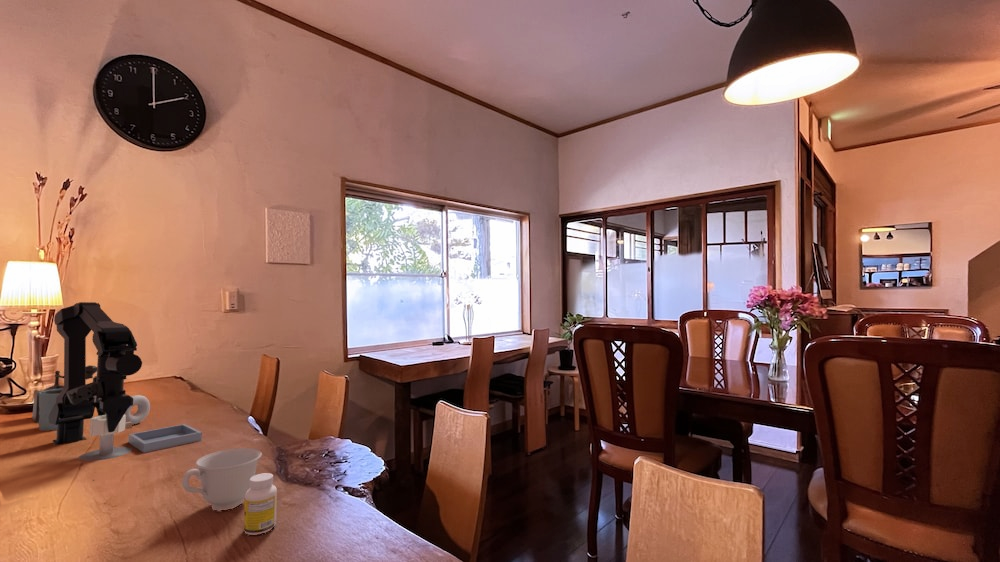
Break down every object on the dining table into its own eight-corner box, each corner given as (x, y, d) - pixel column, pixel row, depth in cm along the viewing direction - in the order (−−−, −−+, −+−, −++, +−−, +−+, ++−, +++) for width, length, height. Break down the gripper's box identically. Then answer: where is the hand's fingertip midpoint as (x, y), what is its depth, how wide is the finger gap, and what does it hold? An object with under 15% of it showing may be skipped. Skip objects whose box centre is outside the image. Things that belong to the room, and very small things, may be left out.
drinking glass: (46, 424, 147) (48, 388, 148) (85, 421, 152) (87, 386, 152) (29, 433, 138) (31, 394, 139) (71, 429, 142) (73, 392, 143)
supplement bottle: (251, 522, 85) (254, 471, 86) (280, 521, 86) (282, 471, 86) (237, 537, 80) (240, 482, 81) (268, 536, 80) (270, 482, 81)
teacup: (164, 516, 87) (167, 465, 88) (238, 488, 100) (240, 444, 101) (198, 532, 82) (200, 477, 82) (272, 500, 95) (273, 453, 95)
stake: (73, 456, 118) (75, 430, 119) (125, 446, 127) (126, 422, 128) (83, 466, 112) (85, 438, 112) (137, 454, 121) (138, 429, 121)
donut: (122, 429, 144) (123, 398, 144) (113, 428, 144) (115, 397, 145) (152, 421, 153) (153, 392, 154) (144, 420, 154) (145, 391, 154)
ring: (87, 432, 119) (87, 417, 119) (127, 425, 126) (128, 411, 126) (93, 437, 115) (94, 421, 115) (134, 429, 122) (135, 415, 122)
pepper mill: (35, 423, 149) (38, 370, 149) (31, 417, 155) (34, 366, 156) (96, 414, 161) (99, 365, 162) (90, 409, 168) (93, 362, 168)
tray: (128, 444, 129) (129, 434, 129) (184, 433, 140) (184, 423, 140) (143, 454, 121) (144, 443, 121) (201, 442, 132) (201, 432, 132)
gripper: (62, 372, 120) (59, 429, 119) (78, 380, 109) (74, 443, 108) (115, 367, 129) (112, 421, 128) (135, 374, 118) (132, 433, 117)
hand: (107, 429), depth 120 cm, fingers closed on ring, 7 cm apart
